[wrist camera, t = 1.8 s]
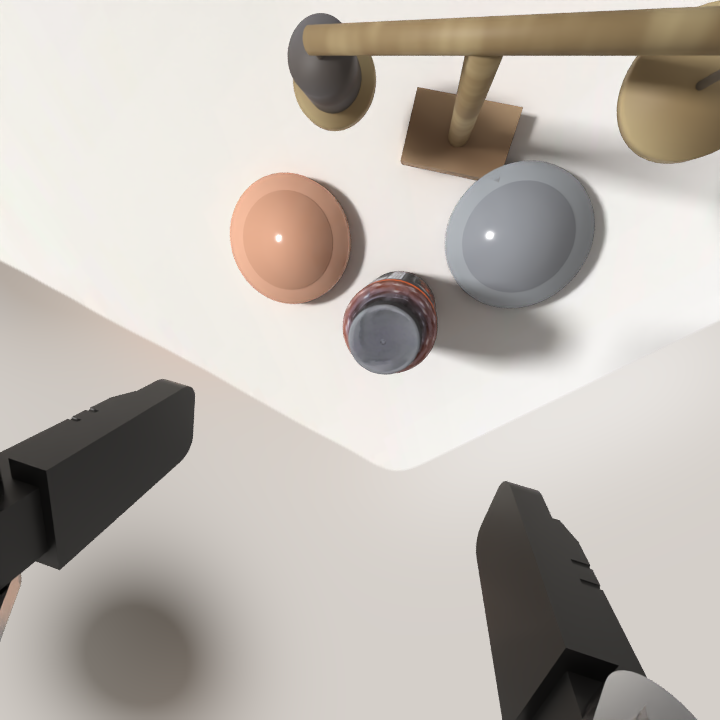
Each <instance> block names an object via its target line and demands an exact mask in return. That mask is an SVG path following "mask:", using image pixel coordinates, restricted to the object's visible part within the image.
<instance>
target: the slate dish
mask: <svg viewBox="0 0 720 720" xmlns="http://www.w3.org/2000/svg"><path fill="white" fill-rule="evenodd" d="M497 172H498V173H497ZM499 174H500V175H499ZM489 175H490V176H489ZM491 175H492V176H491ZM499 177H500V178H499ZM496 178H497V179H496ZM498 178H499V179H498ZM495 179H496V181H495ZM497 181H498V182H497ZM594 227H595V223H594V212H593V207H592V204H591V201H590V198H589V196H588V194H587V192H586V190H585V189H584V187H583V186H582V185H581V183H580V182H579V181H578V180H577V179H576V178H575V177H574V176H573V175H572V174H570V173H569V172H567V171H566V170H564V169H563V168H560V167H558V166H556V165H554V164H550V163H547V162H541V161H520V162H514V163H510V164H507V165H504V166H501V167H499V168H497V169H494V170H493V171H491V172H489V173H487V174H486V175H484V176H483V177H481V178H480V179H479V180H477V181H476V182H475V183H474V184H473V185H472V186H471V187H470V188H469V189H468V190H467V191H466V193H465V194H464V195H463V196H462V197H461V199H460V200H459V202H458V203H457V205H456V206H455V208H454V210H453V212H452V214H451V216H450V219H449V222H448V225H447V229H446V235H445V254H446V260H447V263H448V266H449V269H450V271H451V273H452V275H453V277H454V278H455V280H456V282H457V283H458V284H459V285H460V287H461V288H462V289H463V290H464V291H465V292H466V293H468V294H469V295H470V296H471V297H473V298H474V299H476V300H478V301H480V302H482V303H484V304H487V305H490V306H494V307H500V308H520V307H525V306H530V305H533V304H536V303H539V302H541V301H543V300H545V299H547V298H549V297H551V296H553V295H554V294H556V293H557V292H558V291H560V290H561V289H562V288H564V287H565V286H566V285H567V284H568V283H569V282H570V281H571V280H572V279H573V278H574V276H575V275H576V274H577V273H578V271H579V270H580V268H581V267H582V266H583V264H584V262H585V260H586V258H587V256H588V254H589V251H590V248H591V245H592V241H593V237H594Z"/></svg>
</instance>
